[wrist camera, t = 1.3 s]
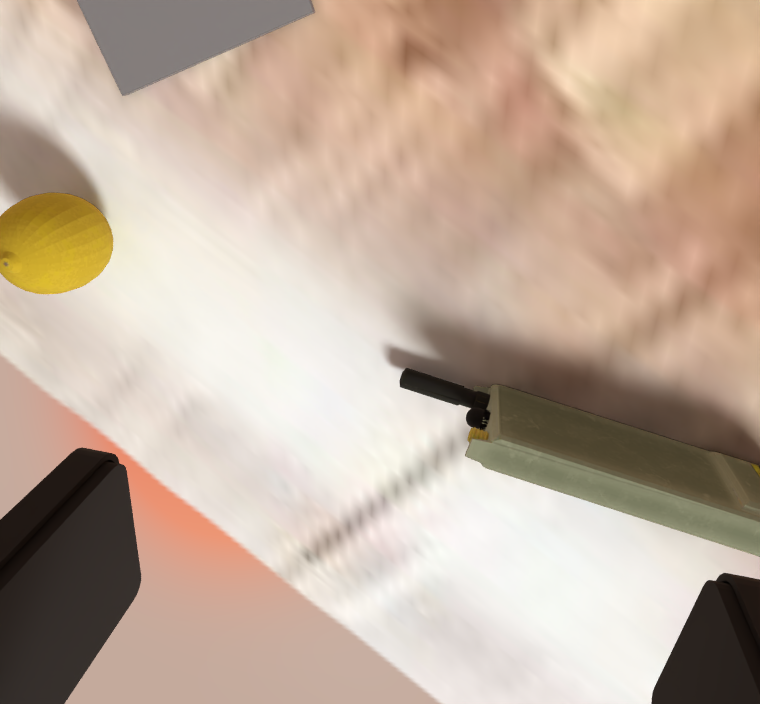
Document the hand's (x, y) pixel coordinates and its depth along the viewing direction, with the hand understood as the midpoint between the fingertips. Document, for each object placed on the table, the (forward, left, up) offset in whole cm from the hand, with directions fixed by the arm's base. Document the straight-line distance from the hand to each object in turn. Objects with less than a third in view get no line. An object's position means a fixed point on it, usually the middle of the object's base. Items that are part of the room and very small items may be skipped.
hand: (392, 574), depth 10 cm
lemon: (+23, -6, -27) cm, 36 cm away
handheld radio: (-4, +16, -27) cm, 32 cm away
